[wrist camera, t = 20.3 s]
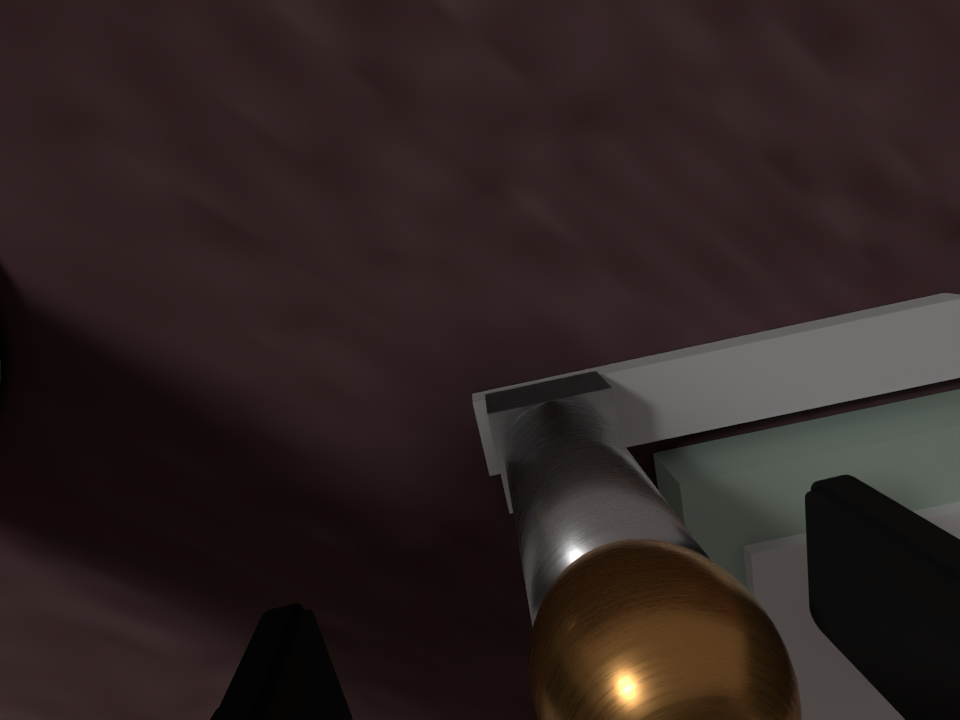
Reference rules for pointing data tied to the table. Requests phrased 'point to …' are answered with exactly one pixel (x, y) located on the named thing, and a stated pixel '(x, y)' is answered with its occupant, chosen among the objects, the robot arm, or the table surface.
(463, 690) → the table surface
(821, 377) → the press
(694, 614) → the lever
